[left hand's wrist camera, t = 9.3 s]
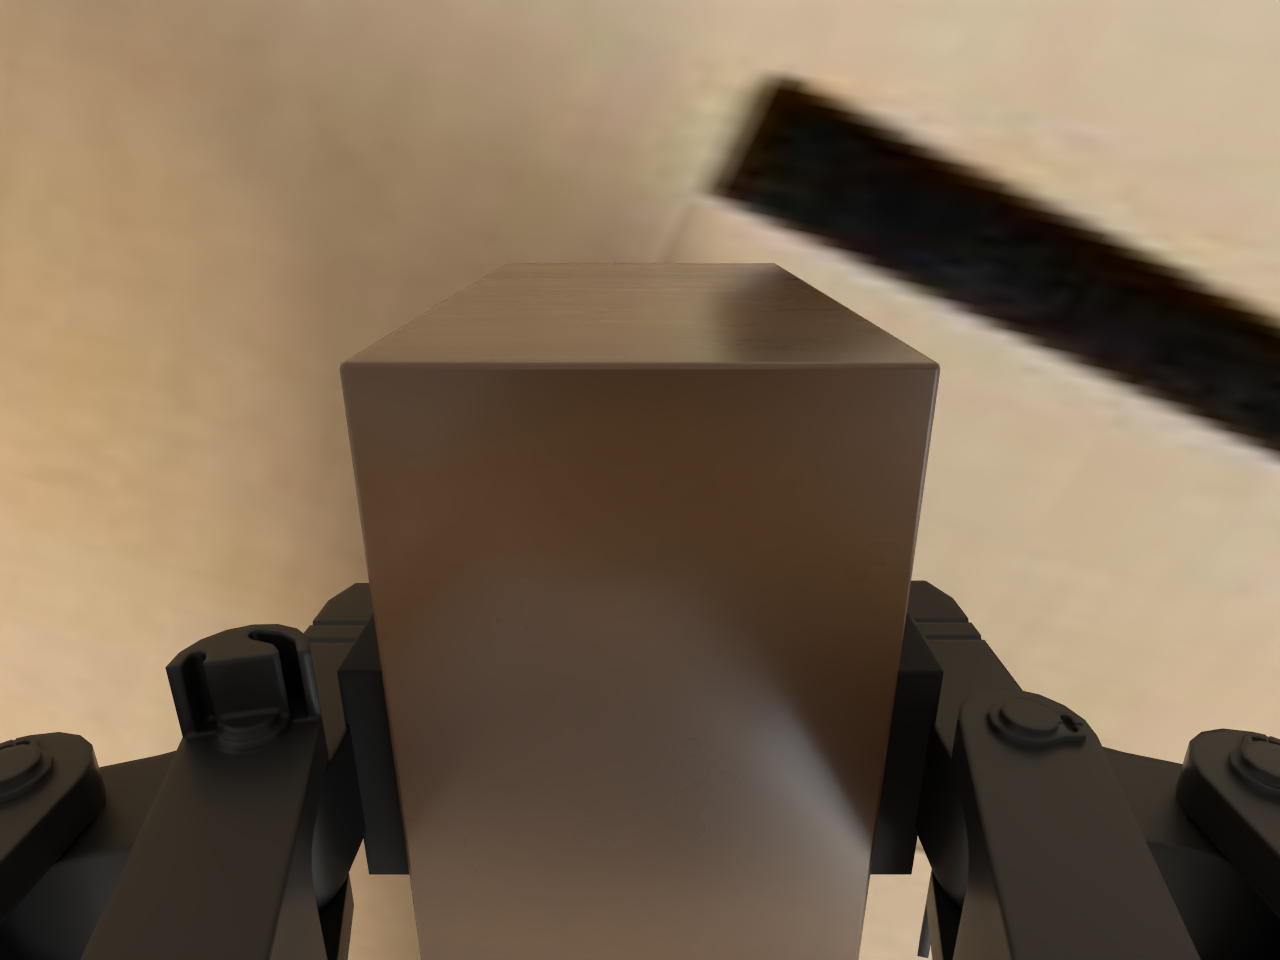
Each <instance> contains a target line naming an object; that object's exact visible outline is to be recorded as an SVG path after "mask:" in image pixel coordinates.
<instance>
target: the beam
mask: <svg viewBox="0 0 1280 960" xmlns="http://www.w3.org/2000/svg"><path fill="white" fill-rule="evenodd" d="M340 374H341V381H342V388H343V396H344V403H345V410H346V417H347V425H348V432H349V439H350V446H351V454H352V461H353V468H354V475H355V483H356V490H357V497H358V504H359V512H360V519H361V526H362V533H363V541H364V548H365V555H366V562H367V570H368V577H369V584H370V591H371V599H372V606H373V613H374V620H375V628H376V635H377V642H378V649H379V656H380V664H381V671H382V678H383V685H384V693H385V700H386V707H387V714H388V722H389V729H390V736H391V743H392V751H393V758H394V765H395V772H396V780H397V787H398V794H399V801H400V809H401V816H402V823H403V830H404V838H405V845H406V852H407V859H408V867H409V874H410V881H411V888H412V896H413V903H414V910H415V917H416V925H417V932H418V939H419V946H420V954H421V960H858V959H859V951H860V944H861V937H862V930H863V922H864V915H865V908H866V901H867V894H868V886H869V879H870V872H871V865H872V858H873V850H874V843H875V836H876V829H877V821H878V814H879V807H880V800H881V793H882V785H883V778H884V771H885V764H886V756H887V749H888V742H889V735H890V728H891V720H892V713H893V706H894V699H895V692H896V684H897V677H898V670H899V663H900V655H901V648H902V641H903V634H904V627H905V619H906V612H907V605H908V598H909V590H910V583H911V576H912V569H913V562H914V554H915V547H916V540H917V533H918V526H919V518H920V511H921V504H922V497H923V489H924V482H925V475H926V468H927V461H928V453H929V446H930V439H931V432H932V425H933V417H934V410H935V403H936V396H937V388H938V381H939V374H940V366H939V364H938V363H936V362H935V361H933V360H932V359H930V358H928V357H927V356H925V355H923V354H922V353H920V352H918V351H917V350H915V349H914V348H912V347H910V346H909V345H907V344H905V343H904V342H902V341H901V340H899V339H897V338H896V337H894V336H892V335H891V334H889V333H887V332H886V331H884V330H883V329H881V328H879V327H878V326H876V325H874V324H873V323H871V322H870V321H868V320H866V319H865V318H863V317H861V316H860V315H858V314H856V313H855V312H853V311H852V310H850V309H848V308H847V307H845V306H843V305H842V304H840V303H839V302H837V301H835V300H834V299H832V298H830V297H829V296H827V295H825V294H824V293H822V292H821V291H819V290H817V289H816V288H814V287H812V286H811V285H809V284H808V283H806V282H804V281H803V280H801V279H799V278H798V277H796V276H794V275H793V274H791V273H790V272H788V271H786V270H785V269H783V268H781V267H780V266H778V265H777V264H774V263H507V264H505V265H503V266H501V267H500V268H498V269H496V270H495V271H493V272H492V273H490V274H488V275H487V276H485V277H483V278H482V279H480V280H478V281H477V282H475V283H473V284H472V285H470V286H468V287H467V288H465V289H463V290H462V291H460V292H458V293H457V294H455V295H454V296H452V297H450V298H449V299H447V300H445V301H444V302H442V303H440V304H439V305H437V306H435V307H434V308H432V309H430V310H429V311H427V312H425V313H424V314H422V315H421V316H419V317H417V318H416V319H414V320H412V321H411V322H409V323H407V324H406V325H404V326H402V327H401V328H399V329H397V330H396V331H394V332H392V333H391V334H389V335H387V336H386V337H384V338H383V339H381V340H379V341H378V342H376V343H374V344H373V345H371V346H369V347H368V348H366V349H364V350H363V351H361V352H359V353H358V354H356V355H354V356H353V357H351V358H350V359H348V360H346V361H345V362H343V363H341V366H340Z"/></svg>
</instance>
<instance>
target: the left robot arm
mask: <svg viewBox="0 0 1280 960" xmlns="http://www.w3.org/2000/svg"><path fill="white" fill-rule="evenodd" d="M166 671H167V675H168V679H169V683H170V687H171V691H172V695H173V699H174V703H175V707H176V711H177V715H178V719H179V723H180V727H181V731H182V735H183V738H182V740H181V742H180V745H179V747H178V749H177V751H173V752H169V753H166V754H162V755H158V756H153V757H148V758H143V759H139V760H134V761H129V762H124V763H119V764H114V765H109V766H104V767H99V766H98V763H97V760H96V756H95V753H94V750H93V746H92V744H90V743H89V742H88V741H87V740H85V739H84V738H83V737H82V736H80V735H75V734H68V733H62V732H55V733H47V734H38V735H29V736H25V737H20V738H16V740H9V741H6V742H3V743H0V960H348V952H349V943H350V934H351V926H352V917H353V909H354V903H353V896H352V888H351V883H350V877H349V871H350V868H351V866H352V864H353V861H354V859H355V856H356V854H357V852H358V849H359V847H360V845H361V842H362V840H363V838H364V844H365V850H366V857H367V863H368V869H369V874H409V867H408V859H407V852H406V845H405V838H404V830H403V823H402V816H401V809H400V801H399V794H398V787H397V780H396V772H395V765H394V758H393V751H392V743H391V736H390V729H389V722H388V714H387V707H386V700H385V693H384V685H383V678H382V671H381V664H380V656H379V649H378V642H377V635H376V628H375V620H374V613H373V606H372V599H371V591H370V584H369V583H355V584H354V585H352V586H351V587H349V588H348V589H346V590H344V591H343V592H341V593H340V594H338V595H337V596H335V597H333V598H332V599H330V600H329V601H328V602H327V603H326V605H325V606H324V607H323V609H322V610H321V611H320V613H319V614H318V615H317V617H316V618H315V619H314V621H313V625H310V626H309V627H308V629H307V630H306V631H305V633H304V634H303V633H302V632H301V631H299V630H298V629H297V628H292V627H288V626H284V625H279V624H262V625H249V626H244V627H239V628H234V629H229V630H225V631H223V632H220V633H217V634H215V635H212V636H209V637H207V638H204V639H201V640H199V641H198V642H196V643H194V644H193V645H191V646H189V647H188V648H186V649H185V650H183V651H181V652H180V653H178V655H177V656H176V657H175V658H174V659H173V660H172V661H171V662H170V663H169V664H168V665H167V667H166ZM917 836H918V837H919V839H920V842H921V844H922V846H923V849H924V851H925V853H926V856H927V858H928V860H929V863H930V865H931V867H932V871H931V877H930V883H929V888H928V894H927V900H926V906H925V912H924V918H923V923H922V929H921V935H920V941H919V948H918V955H917V956H921V957H925V958H928V955H929V950H930V944H931V950H932V958H933V960H1280V739H1277V738H1274V737H1271V736H1270V737H1267V736H1266V735H1264V734H1259V733H1255V732H1248V731H1239V730H1230V729H1217V730H1211V731H1204V732H1201V733H1200V734H1198V735H1197V736H1196V737H1195V738H1193V739H1192V740H1191V741H1190V742H1189V746H1188V749H1187V752H1186V755H1185V759H1184V762H1183V764H1179V763H1174V762H1169V761H1164V760H1159V759H1154V758H1149V757H1144V756H1140V755H1135V754H1130V753H1125V752H1121V751H1117V750H1113V749H1109V748H1106V747H1102V745H1101V743H1100V741H1099V739H1098V737H1097V735H1096V734H1095V733H1094V731H1093V730H1092V729H1091V727H1090V726H1089V725H1088V723H1087V722H1086V721H1085V720H1084V719H1083V718H1081V717H1080V716H1079V715H1077V714H1076V713H1074V712H1073V711H1071V710H1070V709H1069V708H1067V707H1066V706H1064V705H1062V704H1060V703H1057V702H1055V701H1053V700H1051V699H1048V698H1046V697H1044V696H1041V695H1039V694H1034V693H1030V692H1025V691H1023V690H1022V689H1021V688H1020V686H1019V685H1018V684H1017V682H1016V681H1015V680H1014V678H1013V677H1012V676H1011V675H1010V673H1009V672H1008V671H1007V669H1006V668H1005V667H1004V665H1003V664H1002V663H1001V661H1000V660H999V659H998V657H997V656H996V655H995V653H994V652H993V651H992V649H991V648H990V647H989V645H988V644H987V643H986V641H985V640H981V635H980V633H979V632H978V631H977V630H976V628H975V627H974V626H973V624H972V623H968V618H967V616H966V615H965V614H964V612H963V611H962V610H961V608H960V607H959V606H958V604H957V603H956V602H955V600H954V599H953V598H952V597H950V596H949V595H947V594H945V593H944V592H942V591H941V590H939V589H938V588H936V587H934V586H933V585H931V584H930V583H928V582H927V581H911V583H910V590H909V598H908V605H907V612H906V619H905V627H904V634H903V641H902V648H901V655H900V663H899V670H898V677H897V684H896V692H895V699H894V706H893V713H892V720H891V728H890V735H889V742H888V749H887V756H886V764H885V771H884V778H883V785H882V793H881V800H880V807H879V814H878V821H877V829H876V836H875V843H874V850H873V858H872V865H871V872H870V874H911V873H912V867H913V861H914V854H915V848H916V842H917Z"/></svg>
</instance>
